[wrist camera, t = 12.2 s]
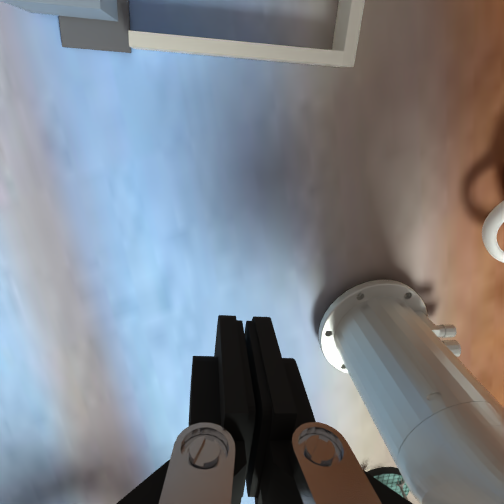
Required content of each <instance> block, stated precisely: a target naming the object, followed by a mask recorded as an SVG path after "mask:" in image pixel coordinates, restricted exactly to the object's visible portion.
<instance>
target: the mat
mask: <svg viewBox="0 0 504 504" xmlns="http://www.w3.org/2000/svg"><path fill="white" fill-rule="evenodd" d="M117 9H118V21H108V20H98V19H88V18H78V17H68V16H59V23H60V31H61V39H62V47H70V48H81V49H92V50H104V51H115V52H126V53H131V47H129V35H128V30H129V31H130V20H129V1H128V0H117Z"/></svg>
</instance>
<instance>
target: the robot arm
mask: <svg viewBox="0 0 504 504" xmlns="http://www.w3.org/2000/svg"><path fill="white" fill-rule="evenodd" d="M455 335H456V328H455V327H454V325H437V326H436V325H435V324H433V322H432V321H431V320H430V319H429V318H428V315H427V309H426V306H425V303H424V302H423V300H422V298H421V297H420V296H419V295H418V294H417V293H416V292H415V291H414V290H413V289H412V288H410V287H409V286H407V285H405V284H403V283H401V282H398V281H393V280H375V281H369V282H366V283H363V284H360V285H357V286H355V287H353V288H351V289H349V290H348V291H346V292H345V293H343V294H342V295H341V296H339V297H338V298H337V299H336V300H335V301H334V302H333V303H332V304H331V305H330V307H329V308H328V310H327V311H326V313H325V314H324V316H323V319H322V321H321V323H320V328H319V344H320V348H321V350H322V352H323V354H324V356H325V358H326V359H327V361H328V362H329V363H330V364H331V365H332V366H334V367H335V368H336V369H338V370H340V371H342V372H346V373H349V375H350V377H351V379H352V380H353V382H354V384H355V386H356V388H357V390H358V392H359V394H360V396H361V398H362V400H363V402H364V404H365V405H366V407H367V409H368V411H369V413H370V415H371V417H372V419H373V421H374V423H375V425H376V427H377V429H378V431H379V432H380V434H381V436H382V438H383V440H384V442H385V444H386V446H387V448H388V450H389V452H390V454H391V456H392V458H393V459H394V461H395V463H396V465H397V467H398V469H399V471H400V473H401V475H402V477H403V479H404V481H405V483H406V485H407V486H408V488H409V490H410V491H411V493H412V494H413V495H414V497H415V498H416V499H417V501H418V502H419V503H420V504H504V407H503V406H502V405H501V404H500V403H499V402H498V401H497V400H496V399H495V398H494V397H493V396H492V395H491V394H490V392H489V391H488V390H487V389H486V388H485V387H484V386H483V385H482V384H481V383H480V382H479V381H478V380H477V378H476V377H475V376H474V375H473V374H472V373H471V372H470V371H469V370H468V369H467V368H466V367H465V366H464V364H463V363H462V362H461V361H460V360H459V359H458V358H457V357H459V356H460V354H461V347H460V345H459V343H458V342H457V341H456V340H442V341H441V340H440V339H439V338H438V337H455ZM245 480H246V485H247V494H248V497H255V504H412V503H411V502H410V501H408V500H407V499H405V498H404V497H402V496H401V495H399V494H398V493H396V492H395V491H393V490H392V489H390V488H389V487H388V486H386V485H385V484H383V483H382V482H380V481H379V480H377V479H376V478H374V477H373V476H371V475H370V474H369V473H367V472H366V471H364V470H363V469H362V468H361V466H360V464H359V462H358V460H357V459H356V457H355V455H354V453H353V452H352V450H351V448H350V446H349V445H348V443H347V441H346V440H345V439H344V437H343V436H342V435H341V434H340V433H339V432H338V431H337V430H335V429H334V428H332V427H330V426H328V425H326V424H323V423H319V422H316V421H315V418H314V415H313V412H312V409H311V406H310V403H309V400H308V397H307V394H306V391H305V388H304V385H303V382H302V379H301V376H300V373H299V370H298V367H297V364H296V361H295V359H293V358H282V357H281V353H280V349H279V346H278V342H277V339H276V335H275V332H274V328H273V325H272V321H271V318H270V317H253V319H252V321H247V322H246V327H245V334H244V329H243V323H242V321H238V320H236V316H226V315H219V316H218V325H217V335H216V345H215V355H214V357H213V356H193V362H192V375H191V391H190V409H189V427H187V428H186V429H184V430H183V431H182V432H181V433H180V434H179V435H178V437H177V439H176V441H175V444H174V447H173V451H172V455H171V459H170V460H168V461H167V462H166V463H165V464H164V465H162V466H161V467H160V468H159V469H158V470H156V471H155V472H154V473H153V474H152V475H150V476H149V477H148V478H147V479H146V480H144V481H143V482H142V483H141V484H139V485H138V486H137V487H136V488H135V489H133V490H132V491H131V492H130V493H129V494H127V495H126V496H125V497H124V498H123V499H121V500H120V501H119V502H118V503H117V504H240V503H241V497H243V492H244V486H245Z"/></svg>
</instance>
